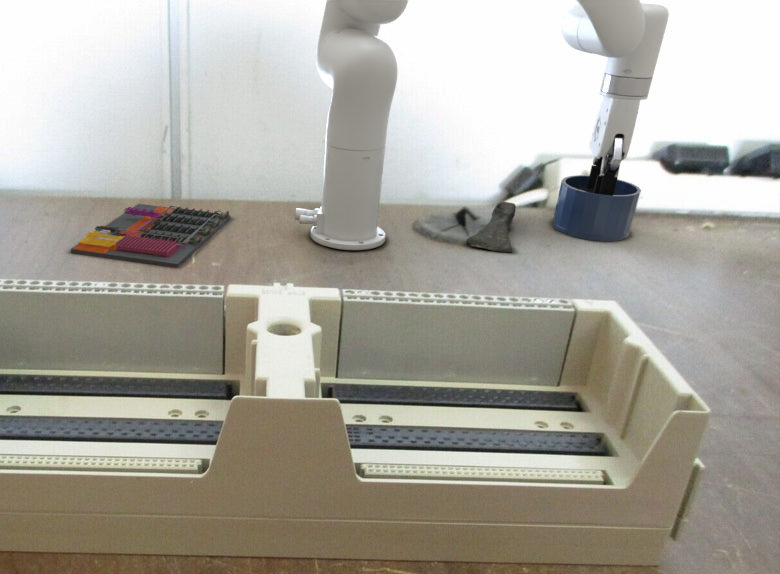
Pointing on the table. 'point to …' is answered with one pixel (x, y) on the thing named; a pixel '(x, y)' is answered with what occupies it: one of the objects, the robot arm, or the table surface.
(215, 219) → the circuit board
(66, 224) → the table surface
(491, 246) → the tool
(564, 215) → the blue open cylinder
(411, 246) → the table surface
